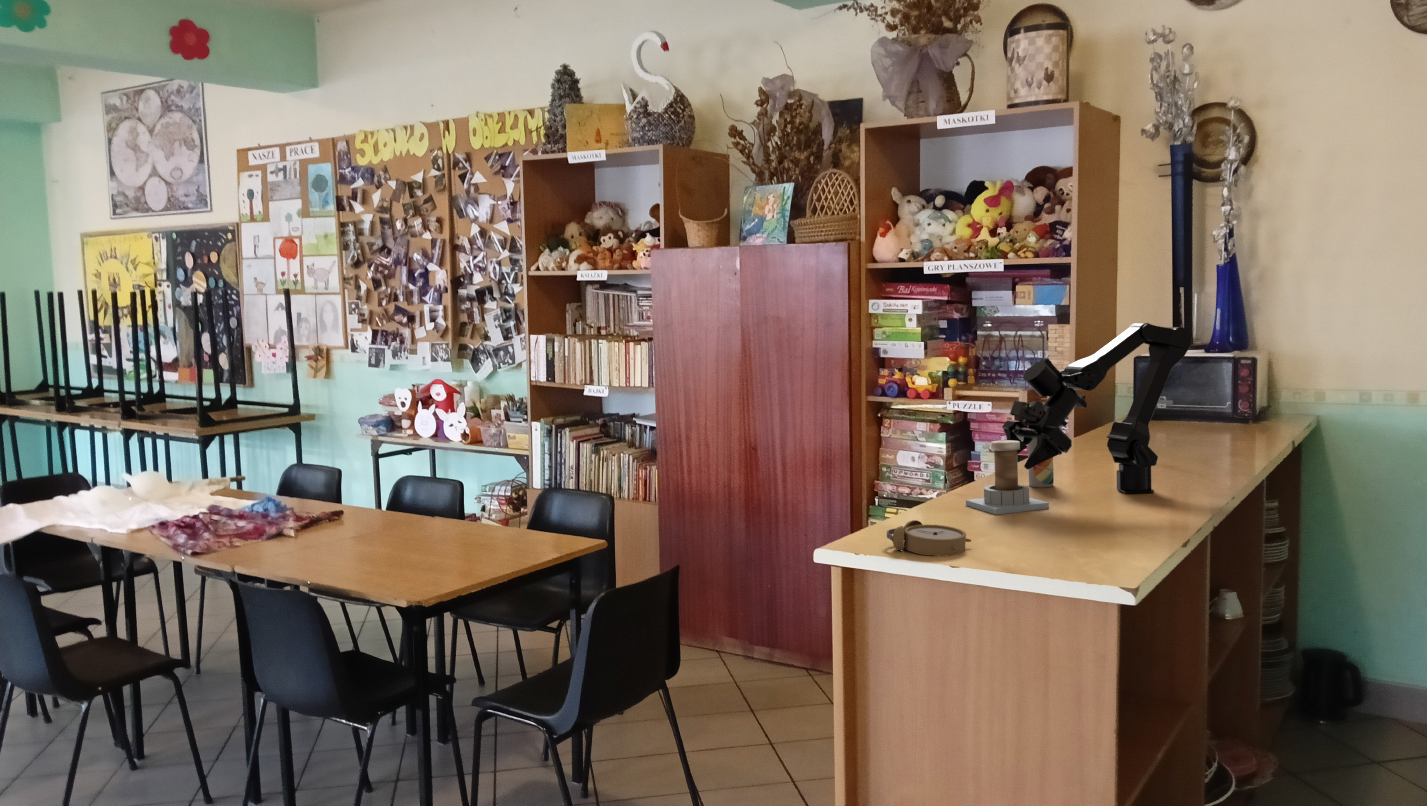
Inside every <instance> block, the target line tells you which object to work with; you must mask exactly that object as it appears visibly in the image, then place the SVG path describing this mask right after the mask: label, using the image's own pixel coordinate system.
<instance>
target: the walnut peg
mask: <svg viewBox="0 0 1427 806" xmlns="http://www.w3.org/2000/svg"><path fill="white" fill-rule="evenodd" d="M990 446H991V451H993V453H994V455H993V456H994V457H993V458H994V485H995V490H1000V491H1012V490H1018V484H1019V479H1018V478H1019V476H1018V475H1019V474H1018V473H1019V469H1018V454H1017V450H1019V449H1020V442H1019V441H1014V440H1007V439H1003V440H1002V439H1001V440H993V441H991V442H990Z"/></svg>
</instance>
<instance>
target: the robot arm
mask: <svg viewBox="0 0 1427 806" xmlns="http://www.w3.org/2000/svg"><path fill="white" fill-rule="evenodd" d="M1192 342H1193V339H1192V336H1191V333H1190V332H1189V330H1188V329H1187V328H1185V327H1184V326H1183V327H1181V326H1173V327H1172V326H1167V327H1166V326H1159V325H1154V324H1152V323H1149V322H1134V323H1132V324H1131V325H1129V326H1128V328H1127V329H1126V330H1124V331H1122V333H1120V334H1119V335H1118V336H1116V337H1115V338H1114V339H1112V340H1111V341H1110V342H1109V343H1108V342H1107V344H1106V345H1104V346H1103V347H1101V348H1100V349H1099V350H1098V351H1096V352H1095V353H1094V354H1091V355H1089V356H1087V357H1084V358H1080V359H1078V360H1076V361H1074V362H1072V363H1070V364H1068V365H1067V366H1066V367H1064V369H1063V370H1059V369H1058V368H1057V367H1056V366H1055V365H1054V364H1053V362H1052V361H1051V360H1050V359H1049V358H1048V357H1046V358H1045V357H1042V358H1041V359H1040V360H1039V361H1038V362H1035V363H1033V364H1032V365H1031V366H1030V367H1027V368H1026V370H1025V372H1024V373H1023V376H1022V378H1023V380H1024V381H1025V382H1026V384H1027V385H1029V387H1031V388H1032V390H1034V391H1035V392H1036V394H1037V395H1038V396H1039V397H1041V398H1044V397H1048V398H1047V399H1046V400H1045V401H1044V402H1045V403H1044V404H1043V403H1042V402H1041V401H1038V400H1032V401H1031V402H1026V401H1022V400H1013V403H1012V406H1011V410H1010V411H1009V415H1011V416H1012V417H1013V416H1015V417H1018V418H1020V419H1023V420H1022V421H1021V420H1014V419H1008V420H1006V421H1005V422H1004V423H1003V425H1002V426H1001V427H1002V430H1003V434H1004V435H1005V437H1006V440H1014V441H1019V442H1020V449H1019V450H1017V455H1019V454H1020V453H1021V452H1023V451H1024V450H1025V449H1028V444H1029V443H1030V442H1031V441H1032V440H1033V439H1037V445H1036V447H1035V449H1034V450H1033V452H1032V453H1031V455H1030V456H1029V458H1027V459H1026V462H1025V463H1024V465H1023V467H1024V468H1025V469H1026V470H1029V469H1030V468H1032V467H1034V466H1036V465H1038V464H1040V463H1042V462H1044V461H1046V460H1048V459H1050V458H1052V457H1053V458H1054V457H1056V456H1058V455H1059V456H1061V455H1063V453H1065V454H1068V452H1069V451H1070V449H1071V448H1072V446H1073V445H1072V442H1073V440H1072V439H1071V438H1070V436H1068V435H1067V434H1066V433H1065V431H1063V430H1062V429H1061V427H1064V428H1065V427H1066V426H1068V422H1067V420H1066V419H1067V418H1068V417H1069V415H1070V414H1071V413H1072V412H1073V410H1074V409H1075V408H1076V407H1077V408H1082V409H1086V408H1087V407H1088V405H1087V400H1086V395H1084V394H1079V393H1078V392H1077V391H1088V392H1089V391H1093V390H1095V389H1096V388H1097V387H1098V386H1099V385H1101V383H1102V382H1103V381H1104V380H1105V378H1106V376H1107V373H1108V372H1109V370H1110V369H1112V368H1113V367H1114V366H1115V365H1117V364H1118V363H1119V362H1121V361H1122V360H1123V359H1125V358H1126V357H1128V356H1129V355H1130V354H1131V353H1132V352H1134V351H1135V350H1136V349H1138V348H1139V347H1140V346H1142V345H1143V344H1145V345H1147V346H1148V354H1149V355H1148V357H1149V363H1148V365H1147V368H1146V370H1145V372H1144V374H1143V377H1142V380H1141V382H1140V384H1139V387H1138V389H1137V391H1136V394H1135V397H1134V399H1133V401H1132V402H1131V406H1130V407H1129V411H1128V413H1127V415H1126V417H1125V418H1124V419H1123V420H1122V421H1121V422H1120V421H1113V423H1112V426H1111V429H1110V432H1109V434H1108V435H1107V436H1106V438H1107V444H1106V446H1107V448H1108V451H1109V452H1110V454H1111V456H1112V460H1113V463H1114V464H1118V469H1117V470H1116V490H1118V491H1120V492H1122V493H1124V494H1144V493H1146V494H1148V493H1155V489H1153V488H1152V467H1154V466H1156V465H1157V462H1158V459H1159V456H1158V454H1156V453H1155V452H1154V451H1153V450H1152V448H1151V447H1150V446H1149V444H1150V439H1151V434H1150V430H1149V429H1150V428H1149V426H1150V425H1149V424H1150V423H1151V420H1152V418H1153V415H1154V413H1155V410H1156V408H1157V405H1158V403H1159V400H1160V398H1161V396H1162V393H1163V391H1164V388H1165V387H1166V383H1167V381H1168V379H1169V376H1170V374H1171V371H1172V369H1173V368H1174V367H1175V366H1176V365H1177V364H1179V362H1181V360H1183V358H1185V356H1186V355H1187V353H1188V351H1189V349H1190V348H1191V346H1192ZM1076 390H1077V391H1076Z"/></svg>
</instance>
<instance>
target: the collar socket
mask: <svg viewBox="0 0 1427 806" xmlns="http://www.w3.org/2000/svg"><path fill="white" fill-rule="evenodd" d="M965 506H967V507H970V508H974V509H977V510H979V511H981V512H982V511H983V512H986V513H990V514H993V515H995V516H996V515H1002V514H1010V513H1011V514H1012V513H1021V512H1028V511H1038V510H1044V509H1045V510H1046V509H1049V508H1050V504H1049V502H1048V501H1044V500H1040V499H1036V498H1032V497H1030V487H1029V486H1028V485H1024V484H1020V483H1018V490H1012V491H1000V490H995V484H989V485H986V486H983V497H982V498H974V499H973V498H971V499H966V500H965Z"/></svg>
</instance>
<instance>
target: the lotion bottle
mask: <svg viewBox="0 0 1427 806" xmlns="http://www.w3.org/2000/svg"><path fill="white" fill-rule="evenodd" d="M1045 402H1046V401H1044V402H1041V403H1043V404H1044V403H1045ZM1036 445H1037V439H1033V440H1032V441H1031V442H1030V443H1029V444H1027V454H1028V455H1027V457H1028V458H1029V456H1030V455H1031V453H1032V452H1033V450H1034V449H1035V447H1036ZM1028 458H1027V459H1028ZM1054 473H1055V472H1054V457H1052V458H1050V459H1048V460H1046V461H1044V462H1042V463H1040V464H1038V465H1036V466H1034V467H1032V468H1030V469H1028V483H1029V484H1028V485H1029V486H1030V487H1032V488H1051V487H1053V486H1054V485H1055V484H1054V481H1055V480H1054V479H1055V478H1054Z"/></svg>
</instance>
